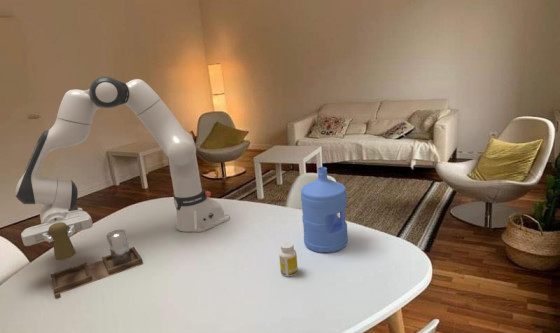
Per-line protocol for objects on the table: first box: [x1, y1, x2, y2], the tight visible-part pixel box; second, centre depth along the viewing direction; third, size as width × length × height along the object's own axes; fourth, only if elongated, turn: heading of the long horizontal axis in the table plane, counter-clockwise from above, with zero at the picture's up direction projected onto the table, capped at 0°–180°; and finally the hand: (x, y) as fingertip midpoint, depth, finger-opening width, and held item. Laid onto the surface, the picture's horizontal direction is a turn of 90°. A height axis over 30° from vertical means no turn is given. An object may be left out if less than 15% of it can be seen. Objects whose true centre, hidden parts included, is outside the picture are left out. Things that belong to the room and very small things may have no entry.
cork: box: [49, 222, 77, 261], centre depth 123 cm, size 6×6×11 cm
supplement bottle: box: [278, 241, 299, 277], centre depth 121 cm, size 5×5×10 cm
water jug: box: [300, 166, 349, 253], centre depth 135 cm, size 16×16×28 cm
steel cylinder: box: [106, 228, 132, 266], centre depth 134 cm, size 6×6×11 cm
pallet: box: [50, 246, 144, 299], centre depth 131 cm, size 27×13×3 cm, turn 123°
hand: (60, 237), depth 122 cm, fingers closed on cork, 4 cm apart
